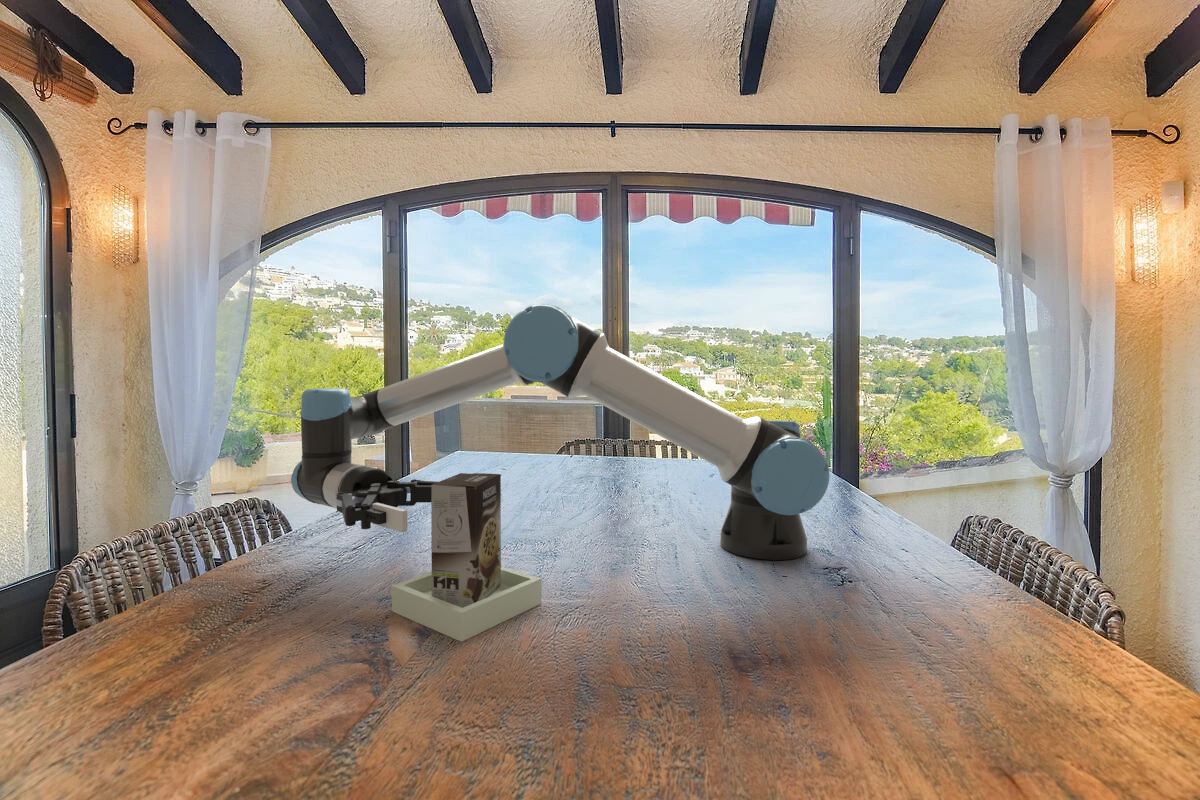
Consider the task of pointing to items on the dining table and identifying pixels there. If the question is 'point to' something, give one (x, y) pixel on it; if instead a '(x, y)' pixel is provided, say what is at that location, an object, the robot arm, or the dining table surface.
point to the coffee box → (466, 538)
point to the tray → (473, 619)
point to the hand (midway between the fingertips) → (447, 510)
